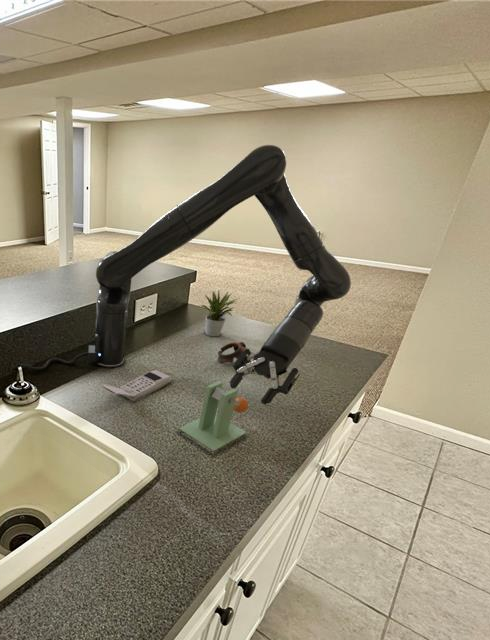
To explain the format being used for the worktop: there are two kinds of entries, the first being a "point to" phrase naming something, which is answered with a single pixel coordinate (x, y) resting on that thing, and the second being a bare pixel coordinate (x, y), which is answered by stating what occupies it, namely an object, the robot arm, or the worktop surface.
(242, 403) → the switch lever
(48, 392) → the worktop surface
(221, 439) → the power switch
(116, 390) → the mobile phone
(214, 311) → the house plant
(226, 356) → the brown curved piece
